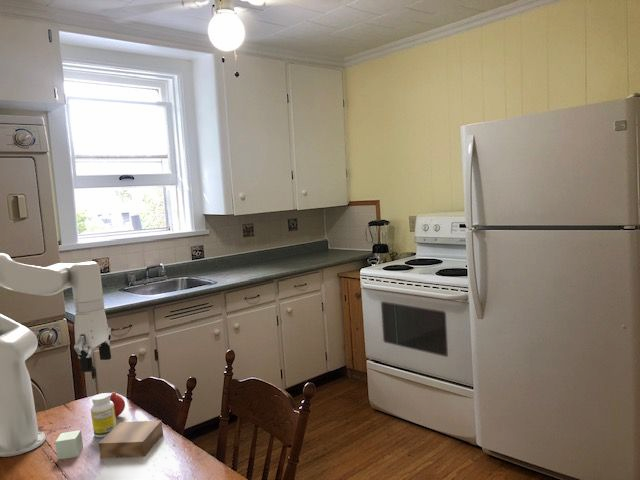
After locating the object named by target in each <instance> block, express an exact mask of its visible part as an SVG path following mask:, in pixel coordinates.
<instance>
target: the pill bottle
mask: <svg viewBox="0 0 640 480" xmlns="http://www.w3.org/2000/svg"><path fill="white" fill-rule="evenodd" d="M110 396H111V394H110V393H108V392H104V393H103V392H102V393H101V392H100V393H98V394H96V395H93V396H92V398H91V401H92V405H91V407H90V413H91V421H92V427H93V429H92V430H93V435H94V437H96V438H104V437H106V436H107V435H108V434H109V433H110V432H111V431H112V430H113V429H114V428H115V427H116V426H117V425H118V424H117V418H116V416H115V409H114V403H113V402H112V401H110Z"/></svg>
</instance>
